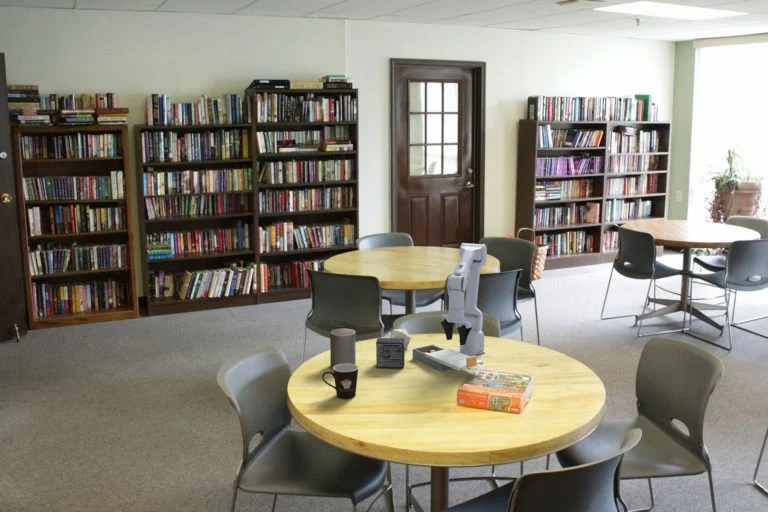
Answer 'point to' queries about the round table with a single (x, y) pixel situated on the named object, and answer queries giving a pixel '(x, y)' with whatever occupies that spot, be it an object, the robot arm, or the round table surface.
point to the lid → (454, 359)
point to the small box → (390, 353)
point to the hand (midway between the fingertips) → (456, 342)
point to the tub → (420, 356)
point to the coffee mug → (344, 380)
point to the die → (401, 336)
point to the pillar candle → (342, 347)
